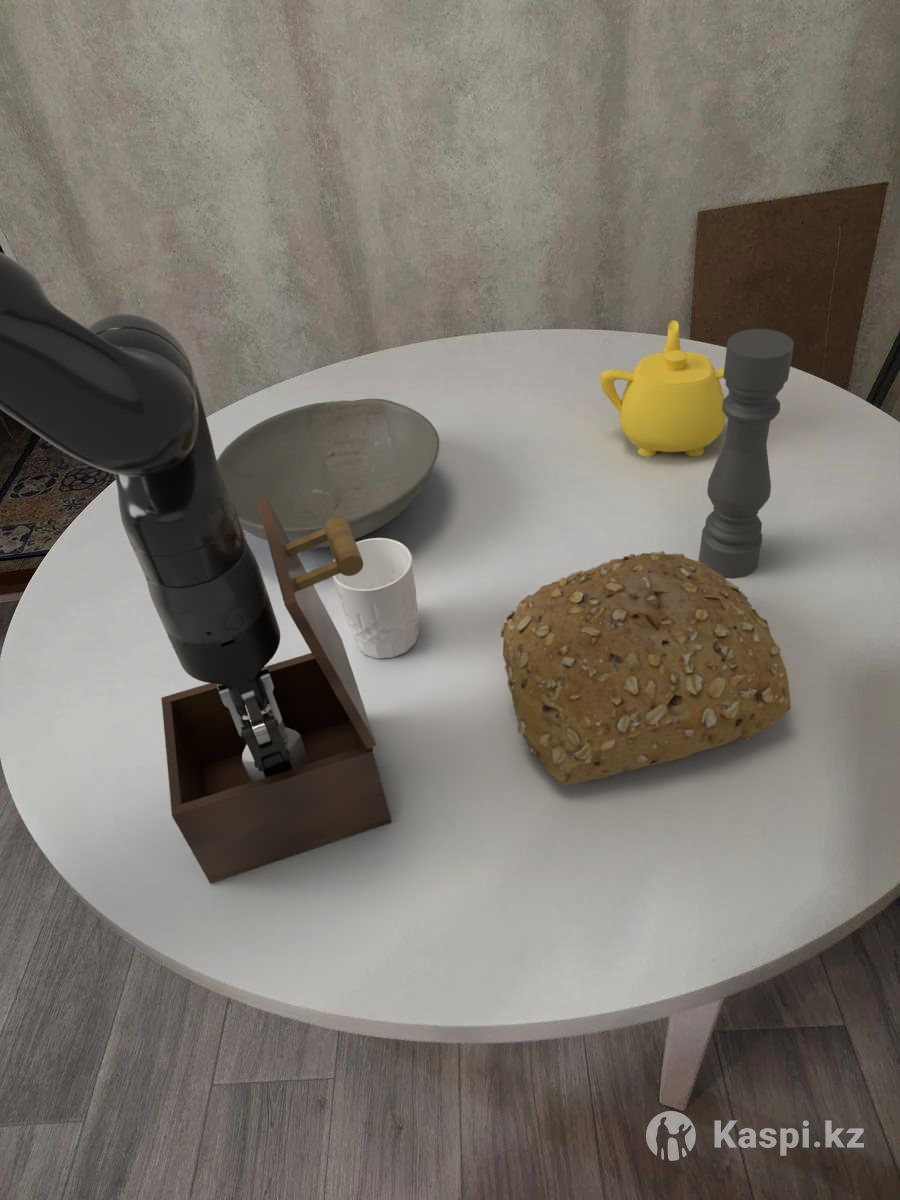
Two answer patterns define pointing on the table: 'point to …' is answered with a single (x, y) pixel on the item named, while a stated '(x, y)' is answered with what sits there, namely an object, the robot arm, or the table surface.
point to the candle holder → (744, 450)
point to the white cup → (381, 599)
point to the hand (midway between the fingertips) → (271, 750)
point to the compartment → (279, 802)
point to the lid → (319, 603)
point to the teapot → (669, 400)
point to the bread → (639, 666)
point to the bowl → (330, 466)
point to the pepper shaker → (292, 744)
